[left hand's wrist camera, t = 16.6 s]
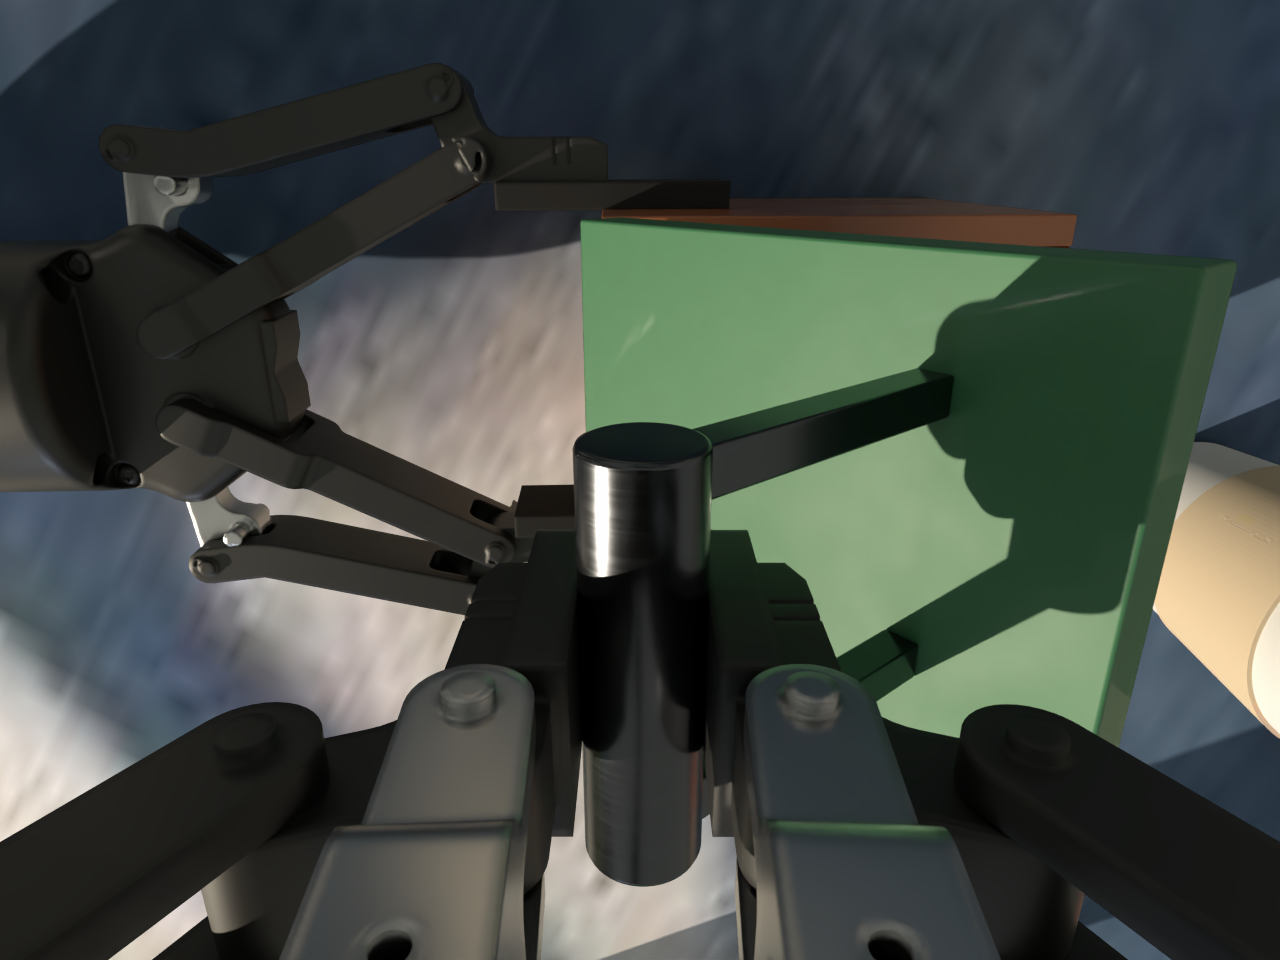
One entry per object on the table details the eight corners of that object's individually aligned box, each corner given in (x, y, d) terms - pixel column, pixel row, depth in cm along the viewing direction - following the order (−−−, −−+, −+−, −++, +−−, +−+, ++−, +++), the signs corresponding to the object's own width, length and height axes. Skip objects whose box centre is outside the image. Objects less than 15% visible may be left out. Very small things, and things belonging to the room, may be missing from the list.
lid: (1239, 259, 11) (869, 342, 6) (1101, 819, 14) (788, 1176, 9) (622, 217, 20) (269, 235, 15) (625, 564, 23) (337, 675, 18)
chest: (922, 197, 31) (1078, 213, 20) (895, 436, 34) (1018, 553, 24) (602, 198, 30) (601, 215, 20) (607, 440, 34) (606, 560, 23)
